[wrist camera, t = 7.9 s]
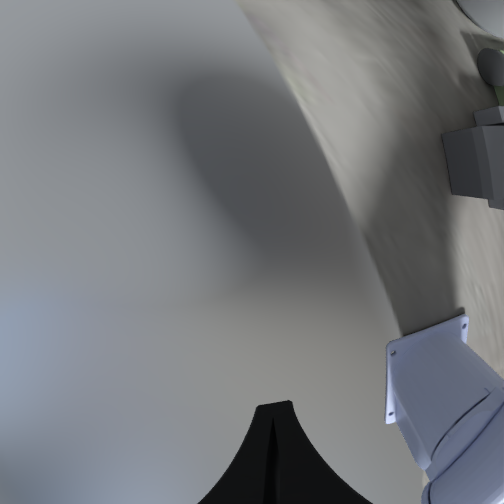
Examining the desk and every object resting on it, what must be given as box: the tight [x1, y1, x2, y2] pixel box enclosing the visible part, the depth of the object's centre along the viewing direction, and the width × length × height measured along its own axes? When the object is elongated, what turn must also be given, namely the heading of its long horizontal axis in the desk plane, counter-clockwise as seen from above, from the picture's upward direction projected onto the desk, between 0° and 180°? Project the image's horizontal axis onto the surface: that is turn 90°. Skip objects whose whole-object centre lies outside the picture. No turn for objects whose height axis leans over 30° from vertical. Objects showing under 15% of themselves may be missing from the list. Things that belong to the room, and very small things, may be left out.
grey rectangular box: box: [441, 126, 504, 200], centre depth 14 cm, size 4×8×5 cm, turn 103°
